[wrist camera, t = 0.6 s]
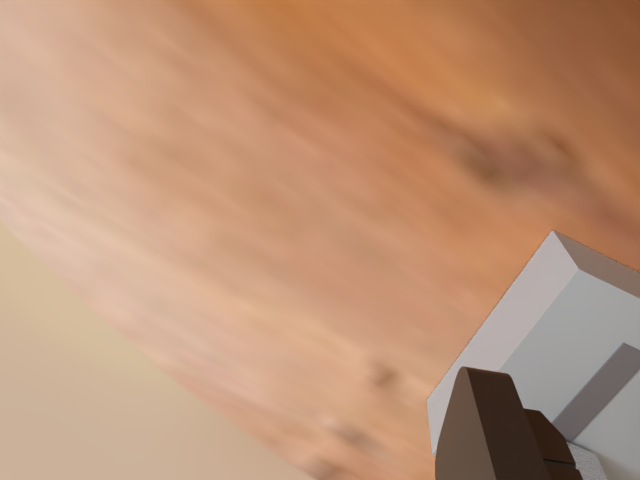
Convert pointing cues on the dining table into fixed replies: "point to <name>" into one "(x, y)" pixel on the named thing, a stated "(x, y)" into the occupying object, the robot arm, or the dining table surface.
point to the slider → (587, 463)
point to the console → (566, 351)
